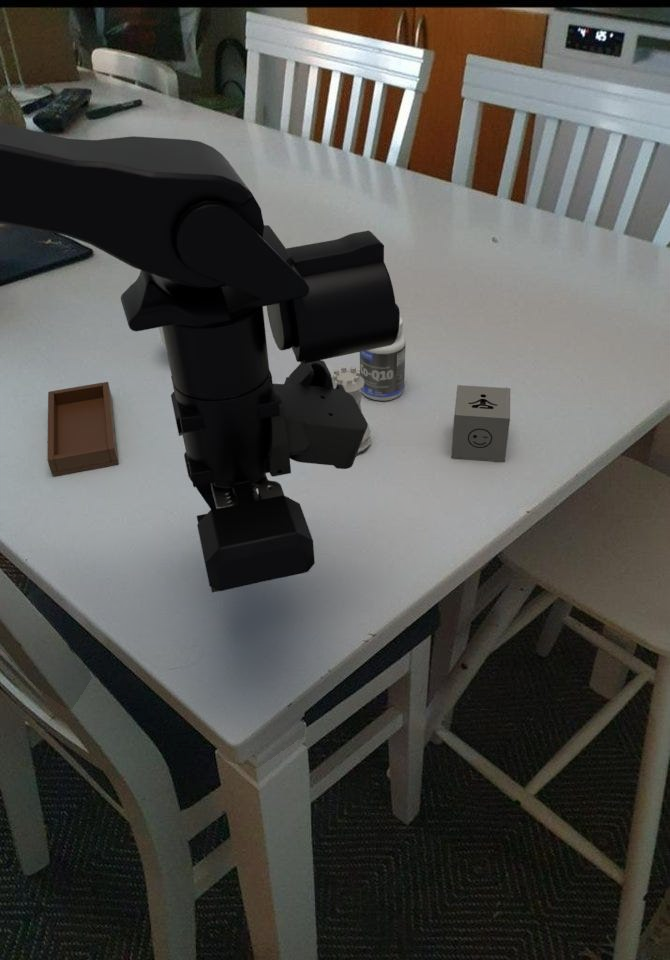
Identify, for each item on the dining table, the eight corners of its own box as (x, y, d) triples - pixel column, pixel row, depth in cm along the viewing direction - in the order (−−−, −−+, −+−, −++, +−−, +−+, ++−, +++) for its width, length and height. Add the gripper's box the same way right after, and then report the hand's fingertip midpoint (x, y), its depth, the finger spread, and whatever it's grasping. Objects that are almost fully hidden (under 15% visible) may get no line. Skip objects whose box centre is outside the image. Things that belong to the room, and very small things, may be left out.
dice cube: (451, 457, 77) (454, 414, 74) (454, 427, 81) (457, 384, 78) (504, 462, 76) (510, 418, 73) (505, 430, 80) (510, 388, 77)
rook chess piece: (380, 442, 79) (380, 372, 74) (349, 463, 77) (347, 392, 72) (348, 424, 82) (345, 355, 77) (316, 444, 79) (312, 374, 74)
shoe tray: (52, 476, 77) (47, 460, 76) (52, 407, 86) (48, 391, 85) (118, 464, 78) (114, 447, 77) (111, 397, 87) (107, 381, 86)
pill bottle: (353, 397, 86) (351, 326, 80) (369, 374, 89) (368, 305, 84) (396, 405, 84) (397, 334, 79) (410, 382, 87) (412, 312, 82)
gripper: (401, 439, 42) (397, 633, 52) (315, 285, 56) (325, 461, 66) (188, 480, 40) (226, 673, 50) (153, 310, 54) (189, 488, 64)
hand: (248, 560), depth 58 cm, fingers closed on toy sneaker, 3 cm apart
